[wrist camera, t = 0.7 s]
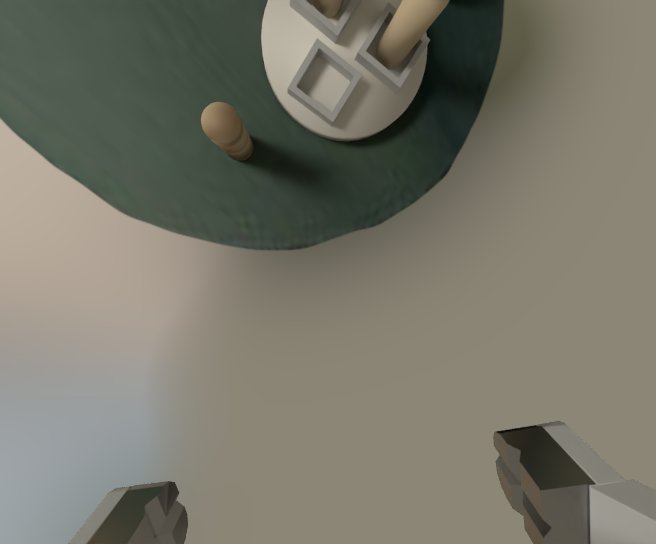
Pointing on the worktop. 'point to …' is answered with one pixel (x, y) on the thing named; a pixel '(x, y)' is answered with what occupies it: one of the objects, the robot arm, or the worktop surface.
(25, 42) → the worktop surface
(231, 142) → the stool leg
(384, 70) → the stool seat
